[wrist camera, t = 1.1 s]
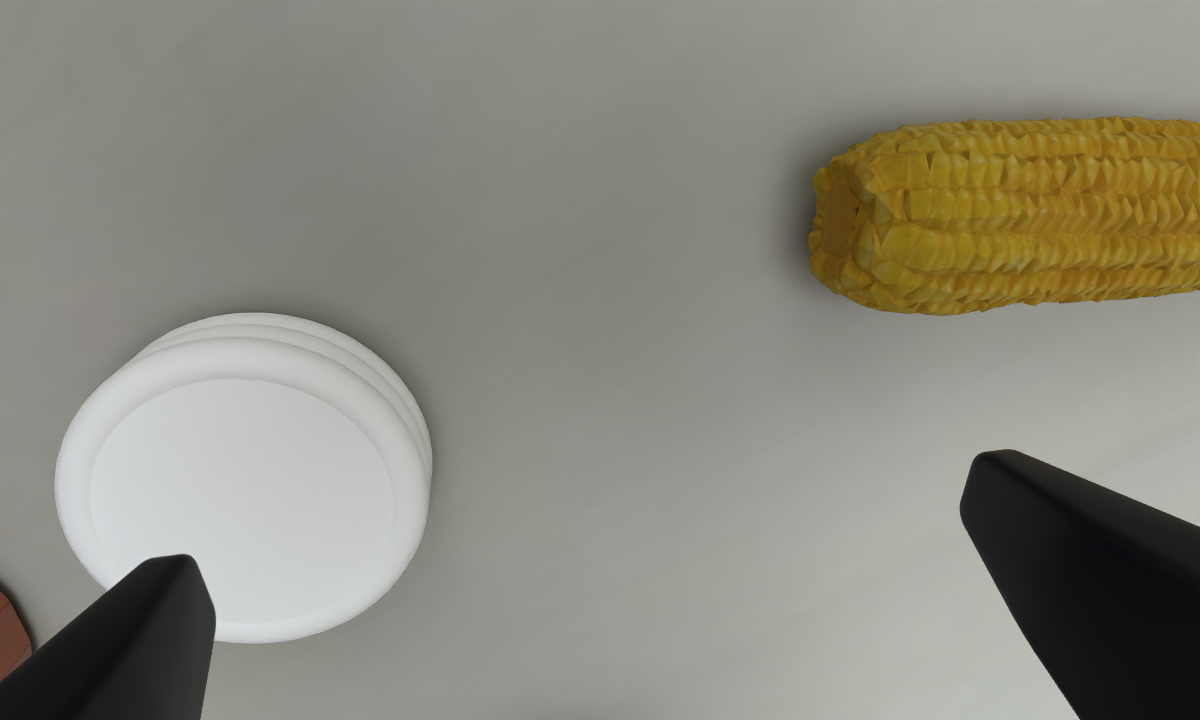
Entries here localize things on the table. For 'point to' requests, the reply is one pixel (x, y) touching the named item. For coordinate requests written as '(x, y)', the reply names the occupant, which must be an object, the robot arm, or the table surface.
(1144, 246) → the food
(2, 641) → the bowl
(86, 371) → the table surface
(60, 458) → the coaster
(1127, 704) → the robot arm
